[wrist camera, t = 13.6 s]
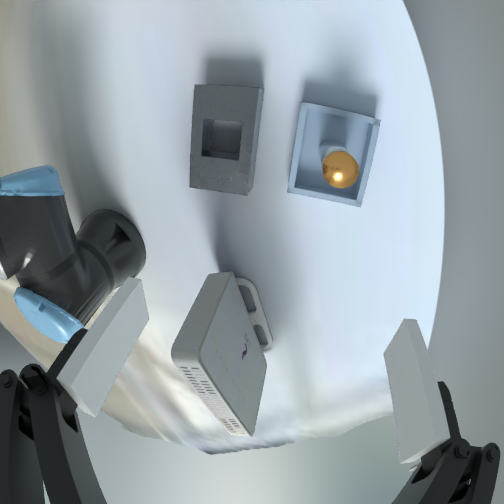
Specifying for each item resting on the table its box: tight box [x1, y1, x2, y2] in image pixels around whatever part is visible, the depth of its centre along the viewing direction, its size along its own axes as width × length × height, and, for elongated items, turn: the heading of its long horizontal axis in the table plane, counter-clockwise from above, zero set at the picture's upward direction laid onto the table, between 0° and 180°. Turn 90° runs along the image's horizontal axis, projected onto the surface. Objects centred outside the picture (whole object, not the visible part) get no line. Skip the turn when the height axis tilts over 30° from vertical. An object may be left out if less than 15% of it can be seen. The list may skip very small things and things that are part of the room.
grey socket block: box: [189, 85, 264, 196], centre depth 34 cm, size 14×8×4 cm, turn 175°
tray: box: [287, 102, 381, 207], centre depth 33 cm, size 12×10×3 cm
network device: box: [171, 271, 273, 436], centre depth 44 cm, size 26×9×20 cm, turn 16°
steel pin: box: [318, 139, 359, 188], centre depth 30 cm, size 4×4×10 cm
